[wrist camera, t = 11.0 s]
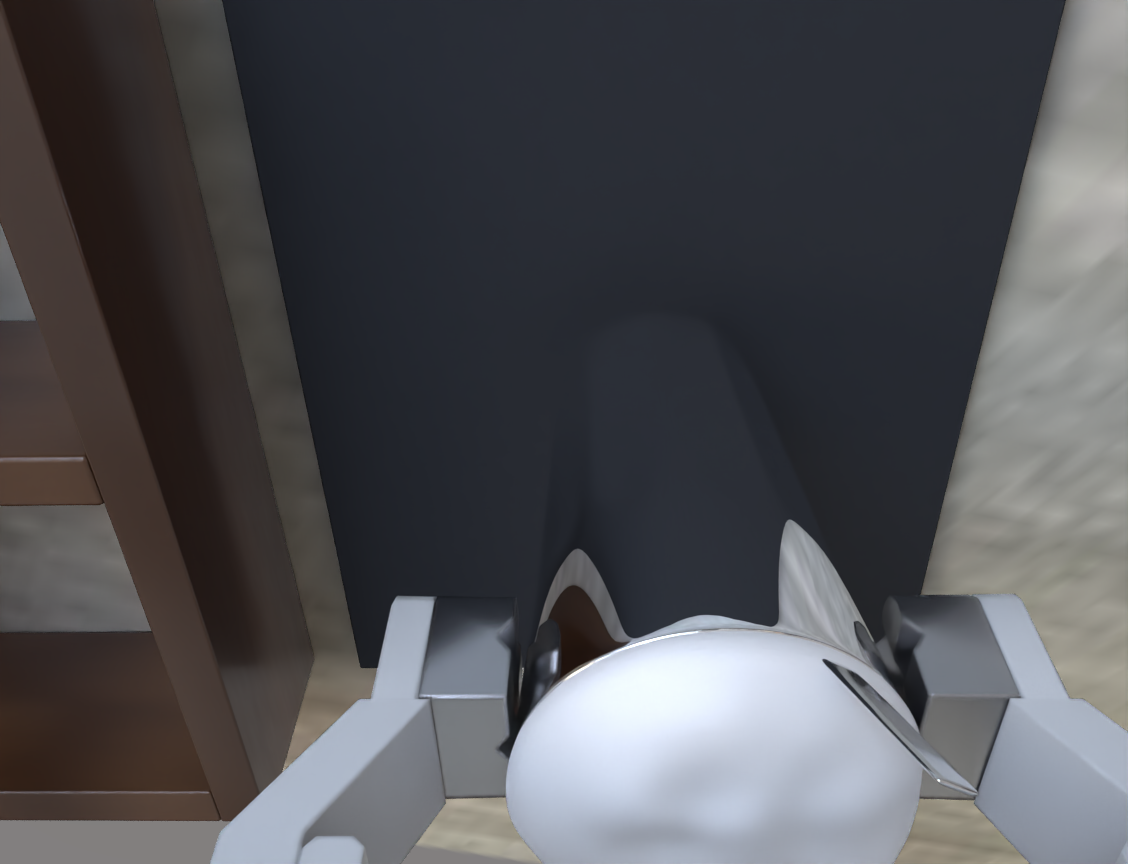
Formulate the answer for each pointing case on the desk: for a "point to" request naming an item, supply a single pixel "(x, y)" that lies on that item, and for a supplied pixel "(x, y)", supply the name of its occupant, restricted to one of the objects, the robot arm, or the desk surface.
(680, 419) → the milkshake
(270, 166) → the mouse pad
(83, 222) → the caddy
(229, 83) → the desk surface
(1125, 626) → the desk surface
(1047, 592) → the desk surface
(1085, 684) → the desk surface
